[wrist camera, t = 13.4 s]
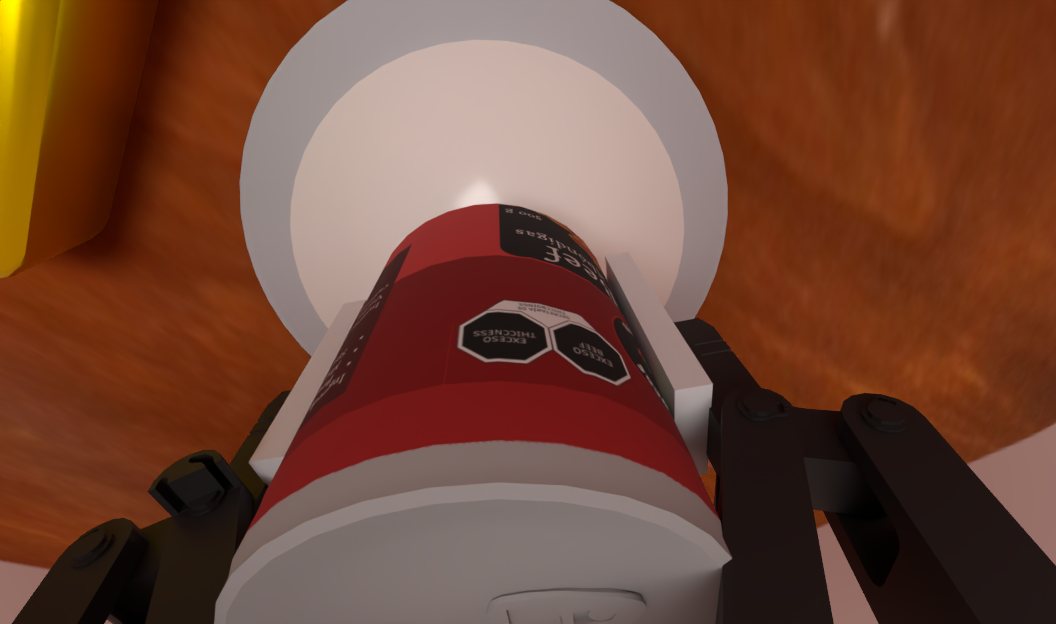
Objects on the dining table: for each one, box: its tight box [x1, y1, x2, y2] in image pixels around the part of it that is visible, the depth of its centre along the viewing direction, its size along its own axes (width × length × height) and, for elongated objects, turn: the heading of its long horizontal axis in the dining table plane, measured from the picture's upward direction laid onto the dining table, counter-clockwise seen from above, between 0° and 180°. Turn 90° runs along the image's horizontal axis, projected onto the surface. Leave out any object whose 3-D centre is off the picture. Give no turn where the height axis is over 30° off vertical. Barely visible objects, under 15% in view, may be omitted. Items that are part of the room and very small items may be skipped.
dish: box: [240, 0, 727, 356], centre depth 19 cm, size 20×20×2 cm
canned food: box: [214, 203, 732, 624], centre depth 11 cm, size 8×8×11 cm
